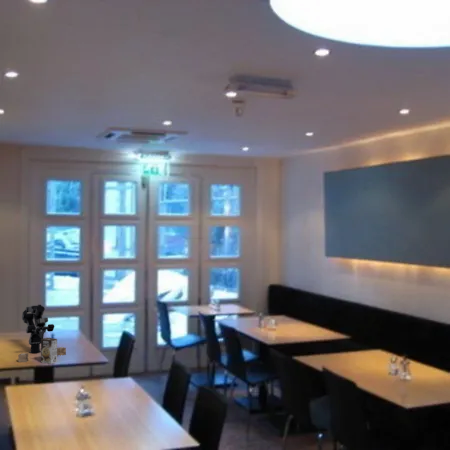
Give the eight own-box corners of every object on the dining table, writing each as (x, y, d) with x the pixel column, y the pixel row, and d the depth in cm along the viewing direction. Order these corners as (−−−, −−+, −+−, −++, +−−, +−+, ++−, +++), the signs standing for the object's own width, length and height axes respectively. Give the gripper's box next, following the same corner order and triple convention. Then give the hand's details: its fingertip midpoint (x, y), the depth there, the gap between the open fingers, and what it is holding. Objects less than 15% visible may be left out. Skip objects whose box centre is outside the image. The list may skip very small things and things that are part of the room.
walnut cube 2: (61, 353, 437) (61, 346, 436) (65, 354, 434) (65, 347, 434) (55, 355, 432) (55, 347, 432) (60, 356, 430) (60, 348, 429)
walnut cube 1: (20, 360, 415) (20, 353, 415) (28, 360, 415) (28, 353, 415) (18, 362, 410) (18, 354, 410) (25, 362, 410) (25, 354, 410)
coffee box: (40, 362, 410) (40, 339, 409) (46, 360, 415) (46, 337, 415) (51, 363, 406) (51, 340, 406) (57, 361, 412) (57, 338, 412)
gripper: (27, 314, 423) (31, 333, 414) (54, 312, 433) (58, 330, 424) (24, 323, 430) (28, 342, 421) (50, 321, 440) (54, 339, 431)
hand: (42, 338), depth 424 cm, fingers closed
